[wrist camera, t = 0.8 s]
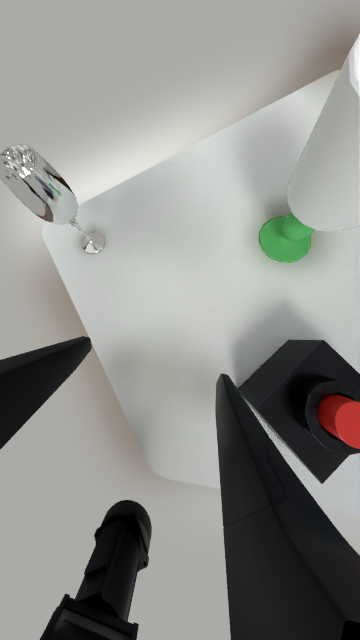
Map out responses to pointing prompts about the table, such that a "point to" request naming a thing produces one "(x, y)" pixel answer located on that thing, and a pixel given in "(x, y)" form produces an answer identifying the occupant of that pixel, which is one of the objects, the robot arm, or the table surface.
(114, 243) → the table surface
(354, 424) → the button
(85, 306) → the table surface
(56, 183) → the wineglass
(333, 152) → the cup
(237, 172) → the table surface
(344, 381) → the control block
